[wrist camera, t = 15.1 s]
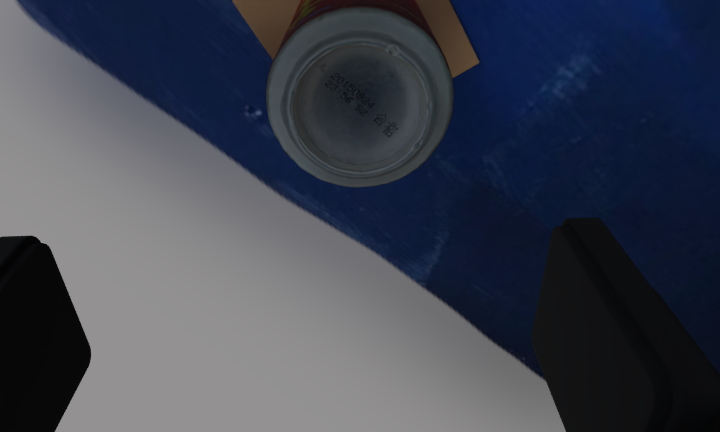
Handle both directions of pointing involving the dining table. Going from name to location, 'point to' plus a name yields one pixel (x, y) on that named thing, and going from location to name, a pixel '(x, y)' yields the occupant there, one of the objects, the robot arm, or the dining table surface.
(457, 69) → the cork mat
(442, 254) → the dining table surface
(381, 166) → the soda can
